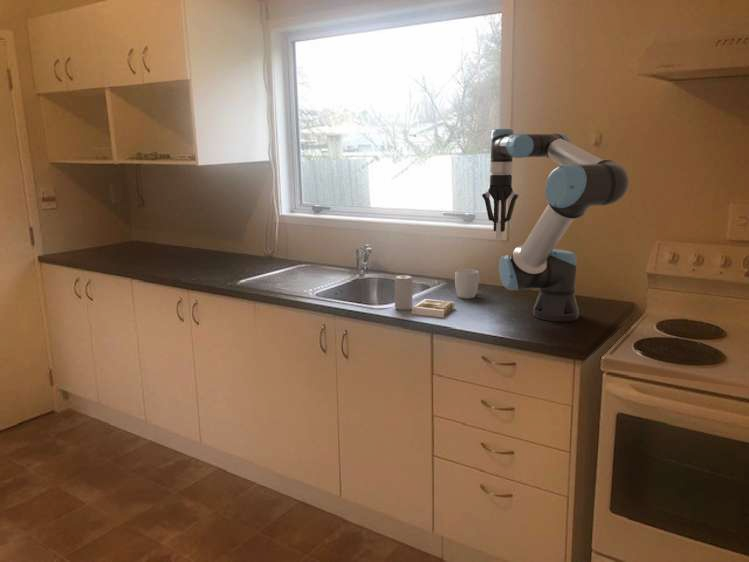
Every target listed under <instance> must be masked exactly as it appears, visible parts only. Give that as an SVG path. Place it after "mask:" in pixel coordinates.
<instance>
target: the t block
mask: <svg viewBox="0 0 749 562" xmlns="http://www.w3.org/2000/svg"><path fill="white" fill-rule="evenodd" d="M442 301H443V302H442V303H436V302H427V301H425V302H424V303H423V308H432V309H441V310H444V316H446V315H447V314H448V313H450V312H451V311H452V310H453V309H452V302H453V301H449V302H448V301H447V300H442Z"/></svg>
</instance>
